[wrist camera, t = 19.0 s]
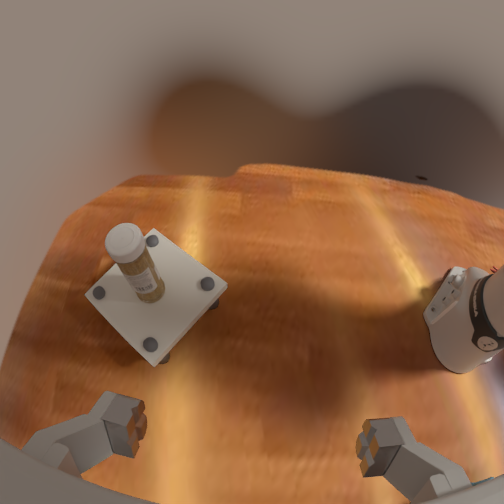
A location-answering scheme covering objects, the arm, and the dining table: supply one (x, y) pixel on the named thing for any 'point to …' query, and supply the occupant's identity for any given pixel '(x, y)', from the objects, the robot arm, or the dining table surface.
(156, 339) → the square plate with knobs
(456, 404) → the dining table surface
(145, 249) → the sprinkles bottle
